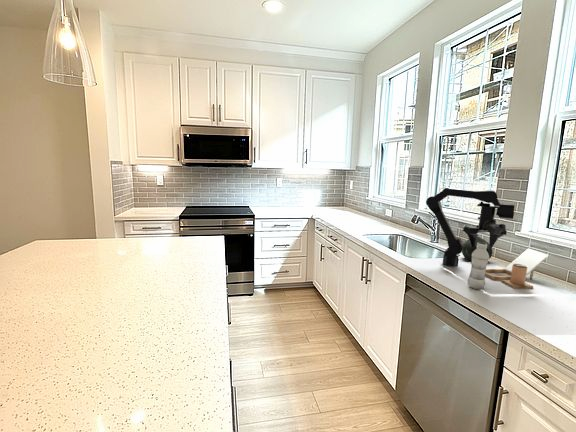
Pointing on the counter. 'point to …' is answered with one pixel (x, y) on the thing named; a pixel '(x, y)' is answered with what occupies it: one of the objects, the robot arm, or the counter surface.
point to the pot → (518, 274)
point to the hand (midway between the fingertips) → (481, 247)
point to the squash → (474, 248)
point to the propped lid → (529, 260)
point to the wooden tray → (498, 274)
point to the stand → (525, 286)
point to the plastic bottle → (478, 266)
